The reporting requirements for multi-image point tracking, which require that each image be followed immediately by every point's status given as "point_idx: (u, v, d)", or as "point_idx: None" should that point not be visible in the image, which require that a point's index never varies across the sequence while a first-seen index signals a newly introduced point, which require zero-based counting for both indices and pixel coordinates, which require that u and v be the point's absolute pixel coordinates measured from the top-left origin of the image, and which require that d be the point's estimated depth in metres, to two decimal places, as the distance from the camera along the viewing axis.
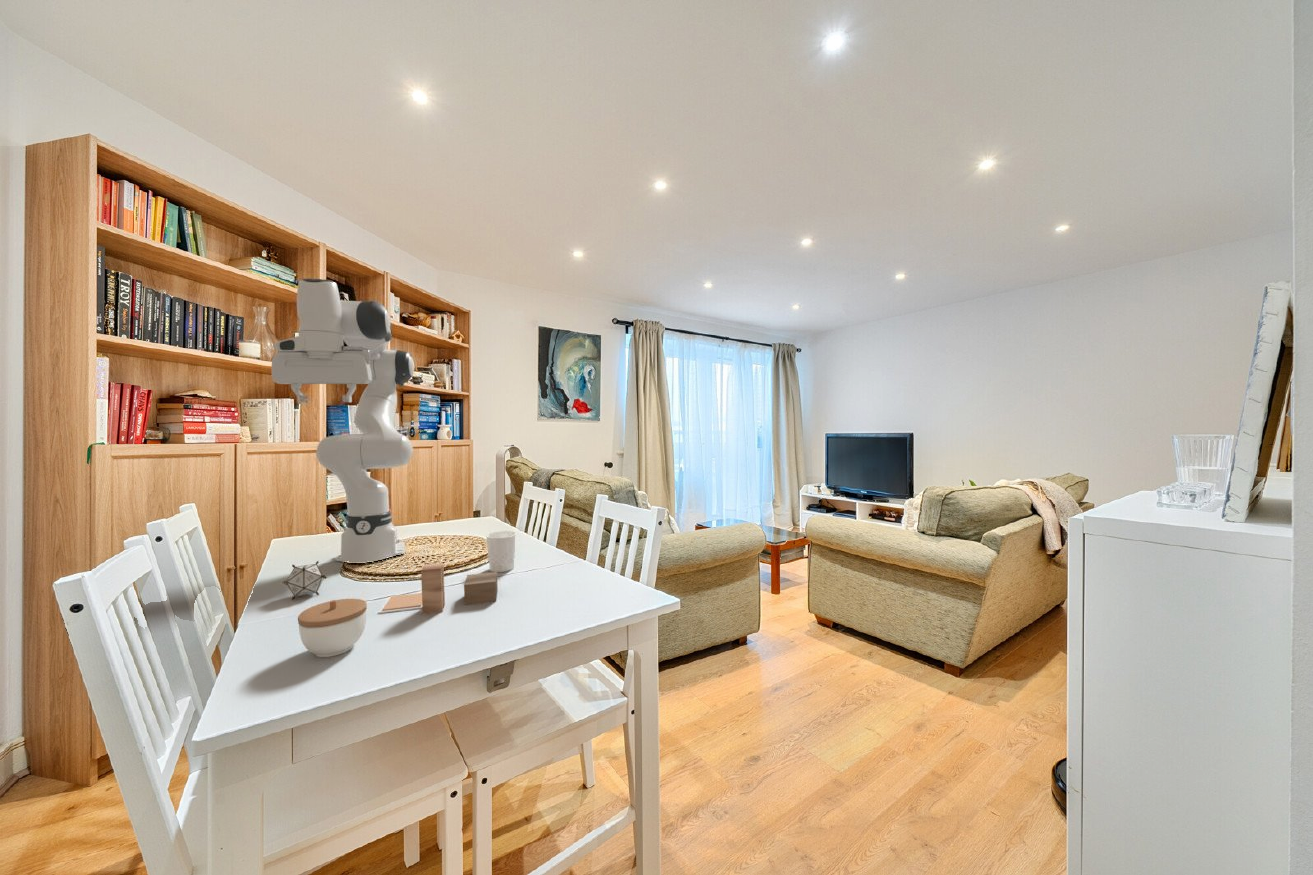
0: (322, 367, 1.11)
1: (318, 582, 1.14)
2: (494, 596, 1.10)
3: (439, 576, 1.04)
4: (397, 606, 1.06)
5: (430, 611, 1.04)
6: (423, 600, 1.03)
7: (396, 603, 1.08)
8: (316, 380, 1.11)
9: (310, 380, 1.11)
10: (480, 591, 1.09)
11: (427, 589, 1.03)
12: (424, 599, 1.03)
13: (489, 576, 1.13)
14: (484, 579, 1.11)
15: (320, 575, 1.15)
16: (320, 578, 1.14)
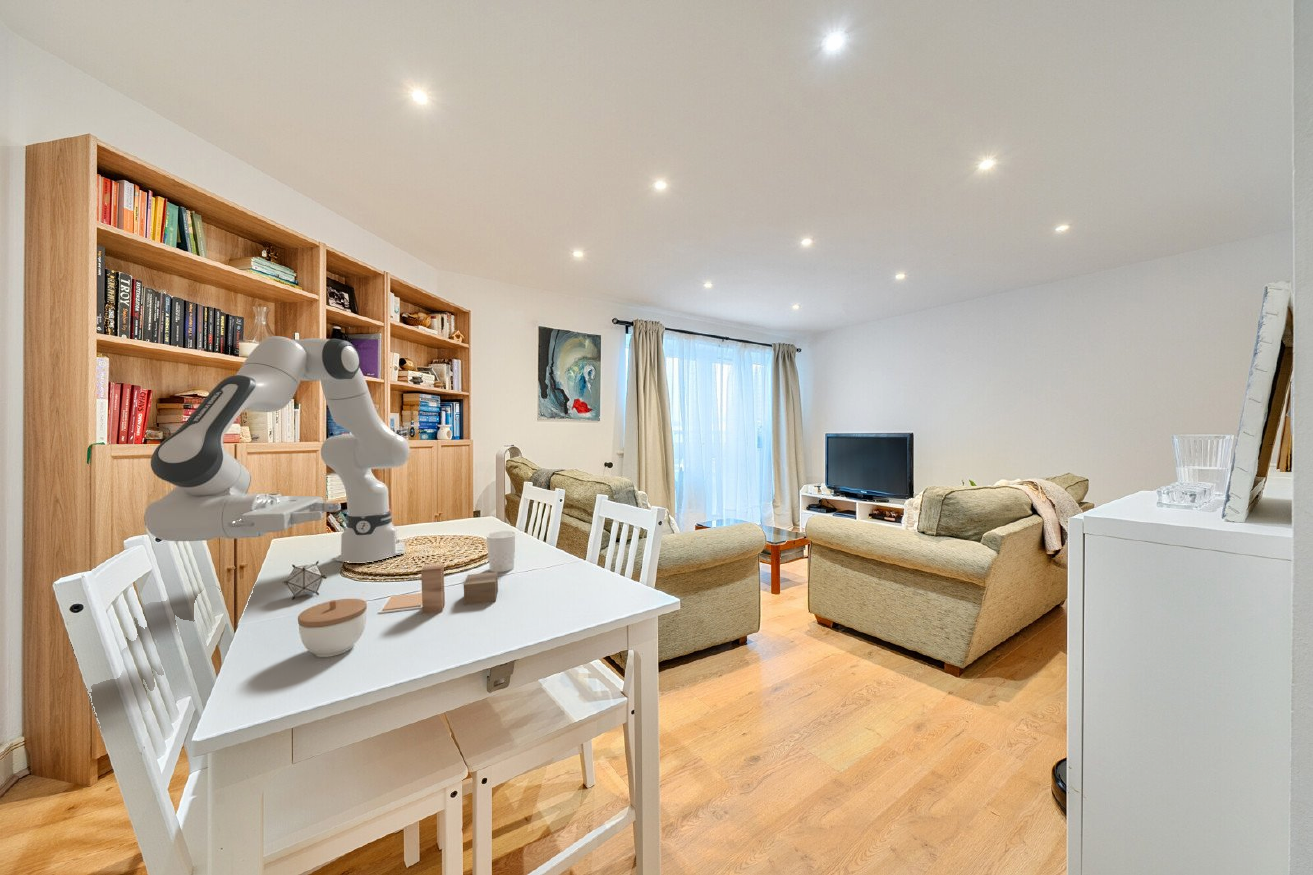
0: None
1: (318, 582, 1.14)
2: (494, 596, 1.10)
3: (439, 576, 1.04)
4: (397, 606, 1.06)
5: (430, 611, 1.04)
6: (423, 600, 1.03)
7: (396, 603, 1.08)
8: None
9: None
10: (480, 591, 1.09)
11: (427, 589, 1.03)
12: (424, 599, 1.03)
13: (489, 576, 1.13)
14: (484, 579, 1.11)
15: (320, 575, 1.15)
16: (320, 578, 1.14)
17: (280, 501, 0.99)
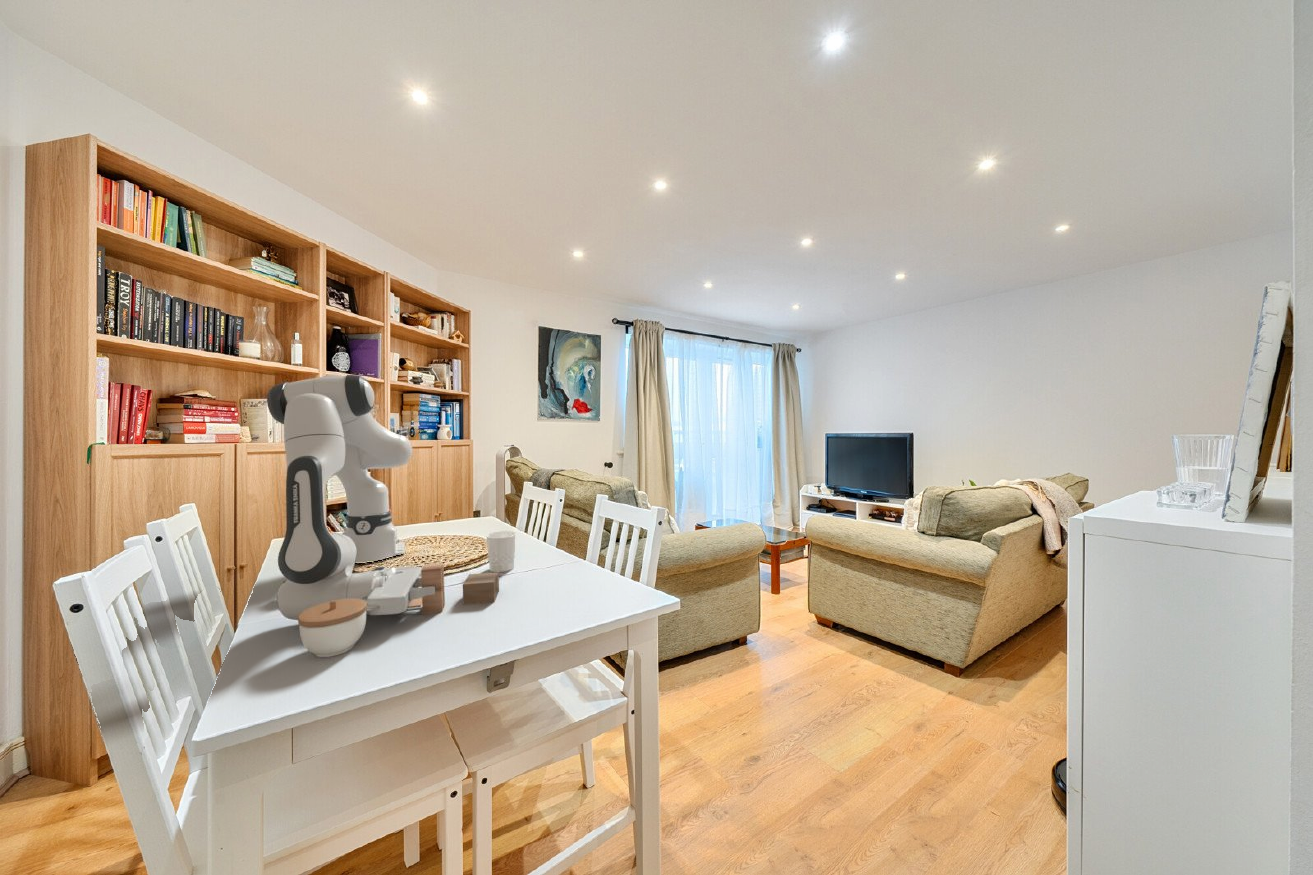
0: None
1: None
2: (492, 597, 1.10)
3: (439, 576, 1.04)
4: None
5: (430, 611, 1.04)
6: (423, 600, 1.03)
7: None
8: None
9: None
10: (478, 591, 1.09)
11: None
12: (424, 599, 1.03)
13: (490, 576, 1.13)
14: (483, 579, 1.11)
15: None
16: None
17: (389, 575, 1.06)
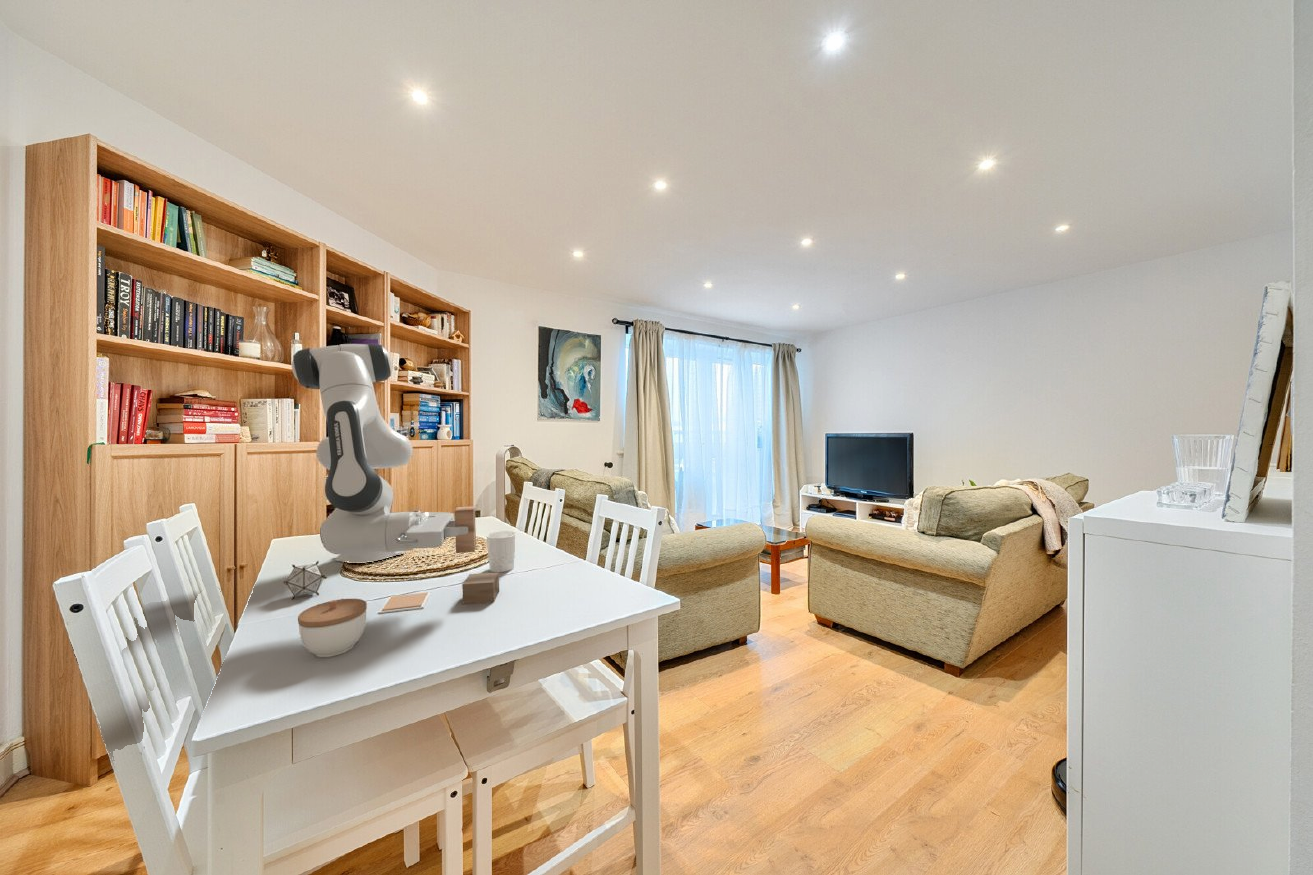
0: None
1: (318, 582, 1.14)
2: (492, 597, 1.09)
3: (472, 517, 1.08)
4: (397, 606, 1.06)
5: (463, 551, 1.08)
6: (456, 540, 1.07)
7: (396, 603, 1.08)
8: None
9: None
10: (478, 591, 1.09)
11: None
12: (457, 539, 1.07)
13: (490, 576, 1.13)
14: (483, 579, 1.11)
15: (320, 575, 1.15)
16: (320, 578, 1.14)
17: (423, 517, 1.10)
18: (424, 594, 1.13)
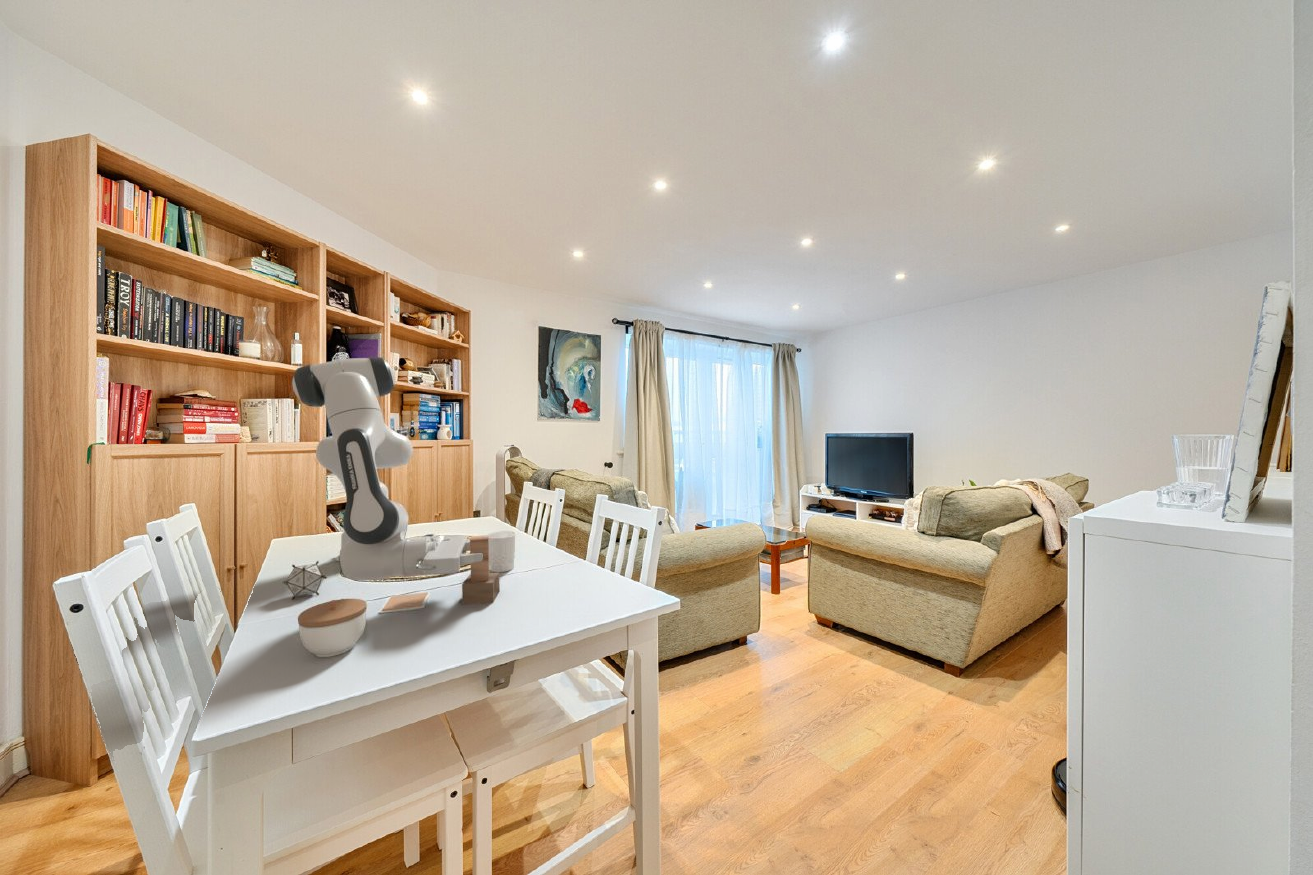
0: None
1: (318, 582, 1.14)
2: (491, 597, 1.09)
3: (486, 546, 1.10)
4: (397, 606, 1.06)
5: (478, 579, 1.10)
6: (471, 569, 1.09)
7: (396, 603, 1.08)
8: None
9: None
10: (477, 591, 1.09)
11: None
12: (472, 568, 1.10)
13: (490, 577, 1.13)
14: None
15: (320, 575, 1.15)
16: (320, 578, 1.14)
17: (439, 541, 1.13)
18: (424, 594, 1.13)
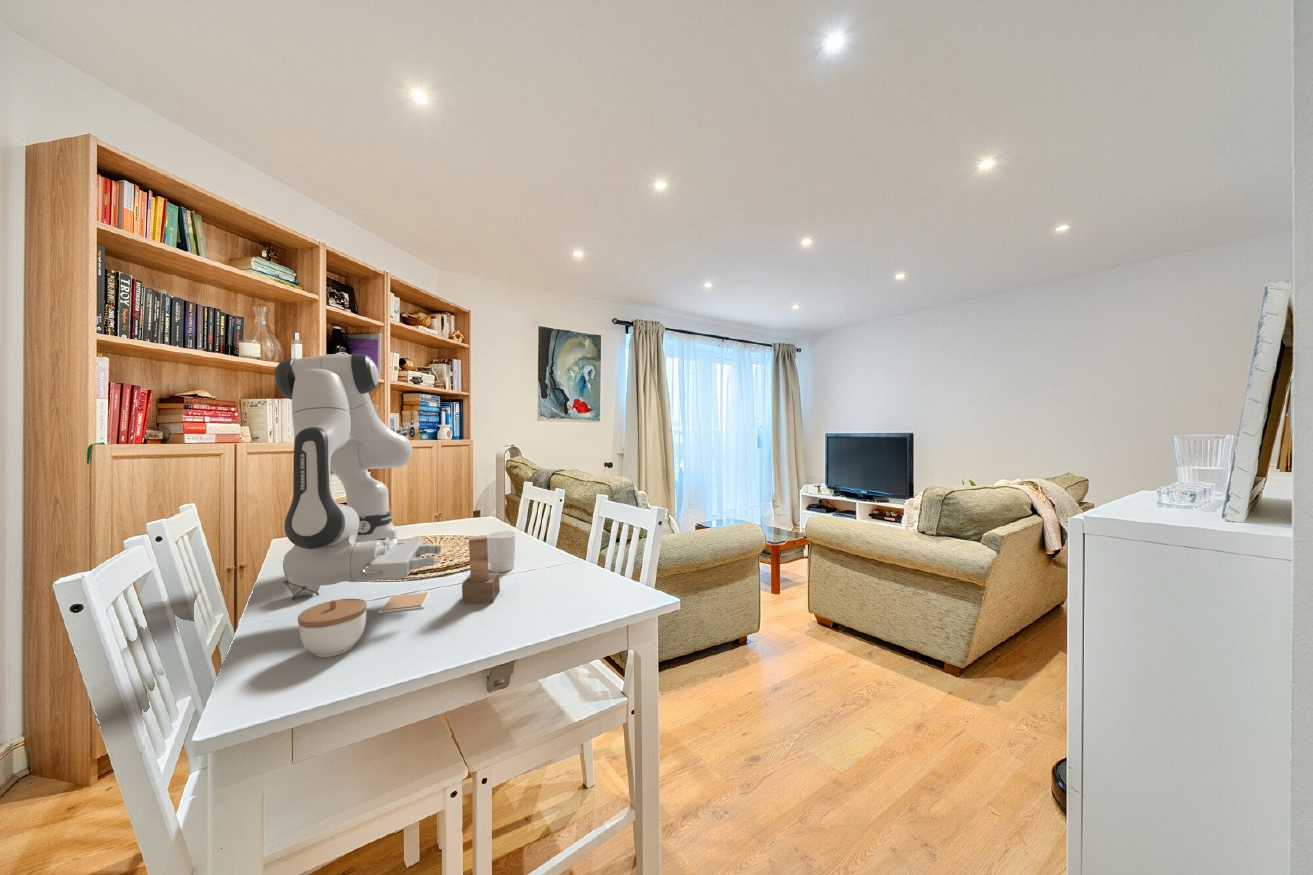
0: None
1: None
2: (491, 597, 1.09)
3: (485, 546, 1.10)
4: (397, 606, 1.06)
5: (478, 579, 1.10)
6: (471, 569, 1.09)
7: (396, 603, 1.08)
8: None
9: None
10: (477, 591, 1.09)
11: (474, 559, 1.09)
12: (472, 568, 1.09)
13: (490, 576, 1.13)
14: None
15: None
16: None
17: (391, 545, 1.10)
18: (424, 594, 1.13)
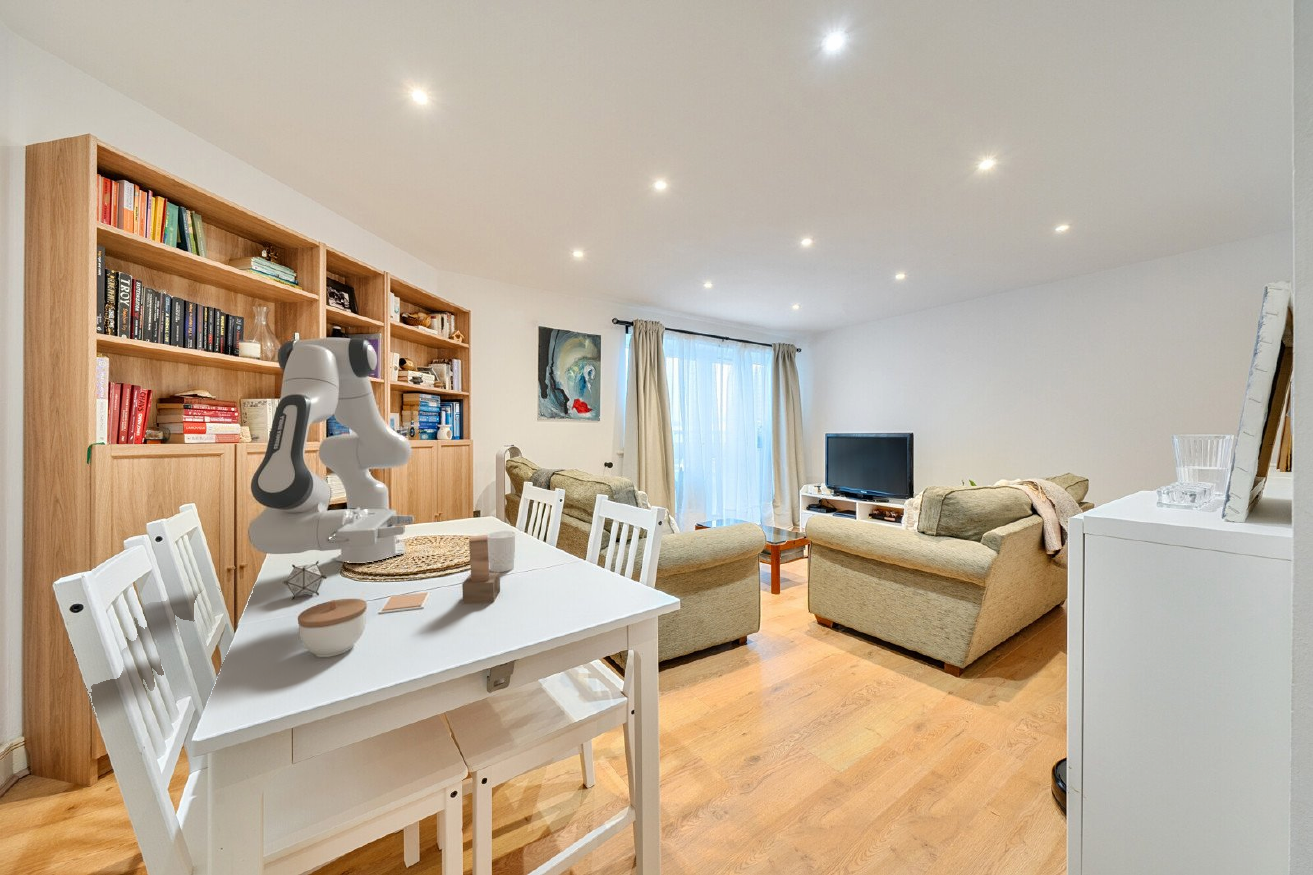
0: None
1: (318, 582, 1.14)
2: (491, 597, 1.09)
3: (486, 547, 1.10)
4: (397, 606, 1.06)
5: (478, 579, 1.10)
6: (471, 569, 1.09)
7: (396, 603, 1.08)
8: None
9: None
10: (478, 591, 1.09)
11: (475, 559, 1.09)
12: (472, 568, 1.09)
13: (490, 576, 1.13)
14: None
15: (320, 575, 1.15)
16: (320, 578, 1.14)
17: (361, 515, 1.08)
18: (424, 594, 1.13)
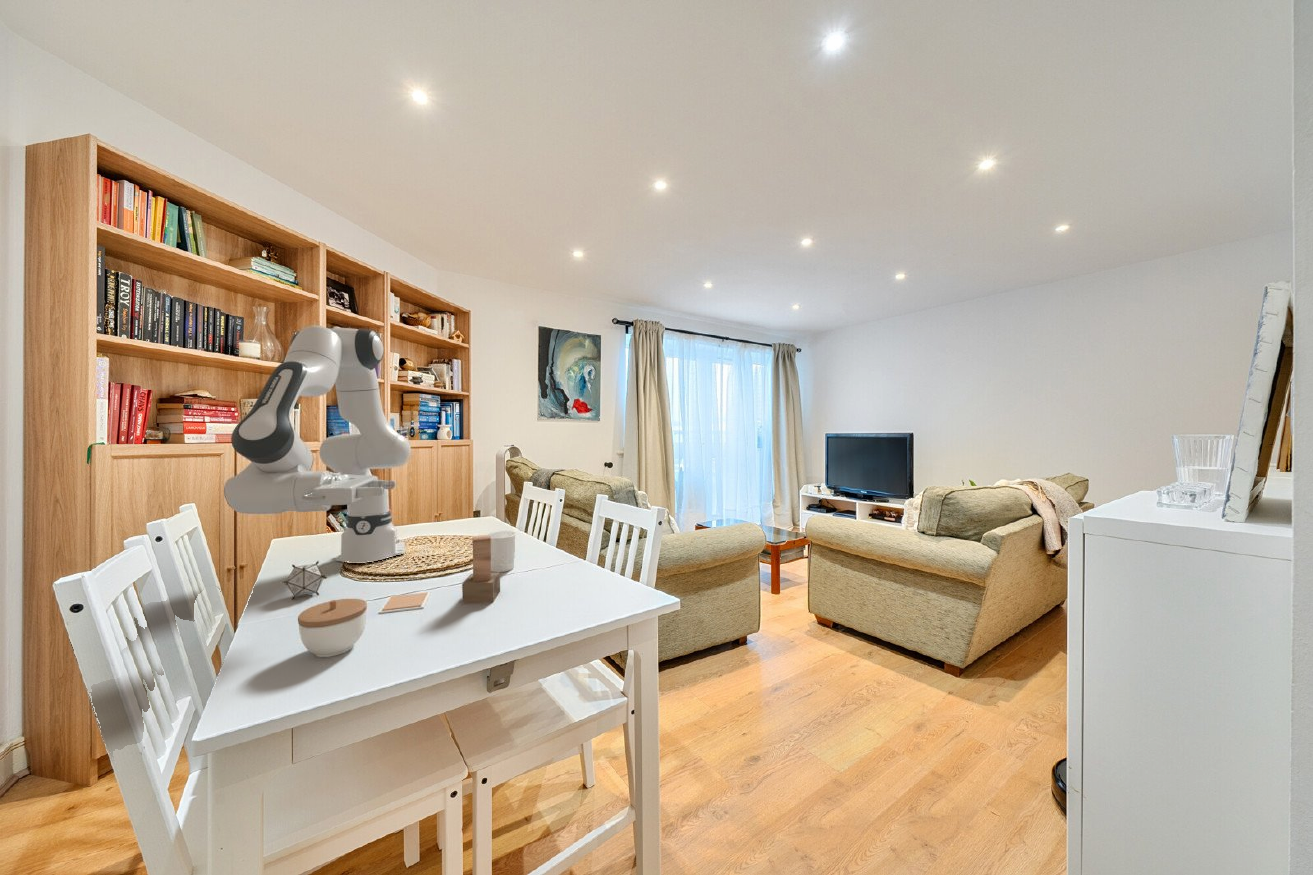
0: None
1: (318, 582, 1.14)
2: (491, 597, 1.09)
3: (489, 546, 1.11)
4: (397, 606, 1.06)
5: (480, 579, 1.10)
6: (474, 568, 1.10)
7: (396, 603, 1.08)
8: None
9: None
10: (477, 591, 1.09)
11: (477, 558, 1.10)
12: (475, 567, 1.10)
13: None
14: None
15: (320, 575, 1.15)
16: (320, 578, 1.14)
17: (341, 478, 1.06)
18: (424, 594, 1.13)
